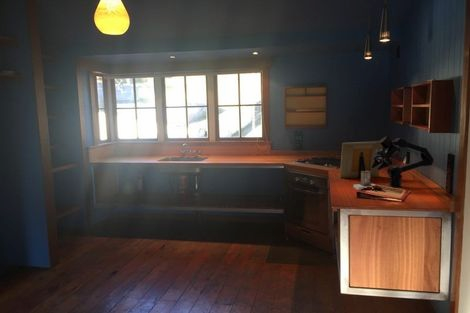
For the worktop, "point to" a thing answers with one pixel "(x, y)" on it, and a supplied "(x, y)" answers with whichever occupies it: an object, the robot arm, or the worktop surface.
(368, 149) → the picture frame
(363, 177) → the brown box on plinth
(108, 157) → the worktop surface
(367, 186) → the display block
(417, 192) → the worktop surface
